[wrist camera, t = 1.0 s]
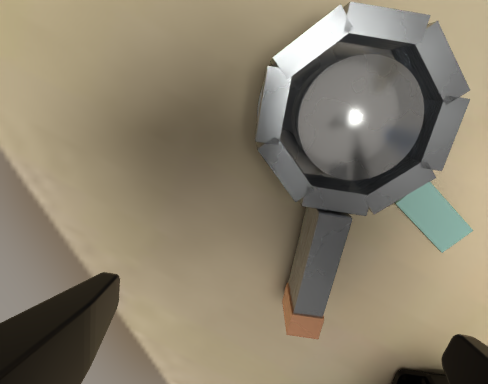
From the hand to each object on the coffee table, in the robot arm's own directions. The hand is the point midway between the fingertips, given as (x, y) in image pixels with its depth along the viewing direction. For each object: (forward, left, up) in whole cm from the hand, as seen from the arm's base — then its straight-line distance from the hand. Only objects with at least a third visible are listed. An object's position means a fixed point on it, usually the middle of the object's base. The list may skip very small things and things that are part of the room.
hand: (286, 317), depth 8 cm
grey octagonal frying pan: (+1, -4, -12) cm, 12 cm away
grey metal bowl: (+5, -4, -12) cm, 14 cm away
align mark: (-1, -11, -12) cm, 17 cm away
